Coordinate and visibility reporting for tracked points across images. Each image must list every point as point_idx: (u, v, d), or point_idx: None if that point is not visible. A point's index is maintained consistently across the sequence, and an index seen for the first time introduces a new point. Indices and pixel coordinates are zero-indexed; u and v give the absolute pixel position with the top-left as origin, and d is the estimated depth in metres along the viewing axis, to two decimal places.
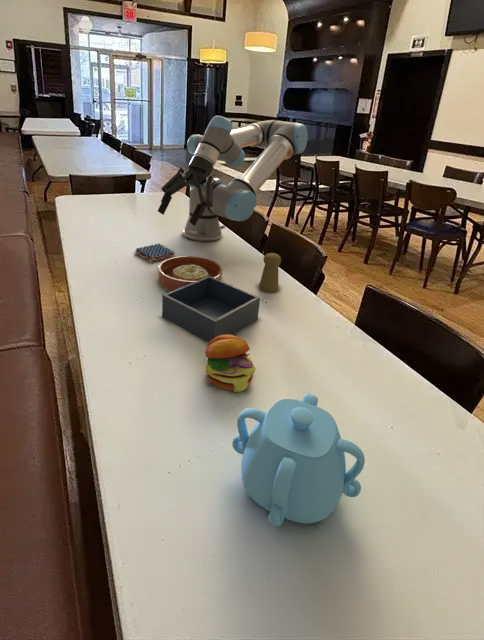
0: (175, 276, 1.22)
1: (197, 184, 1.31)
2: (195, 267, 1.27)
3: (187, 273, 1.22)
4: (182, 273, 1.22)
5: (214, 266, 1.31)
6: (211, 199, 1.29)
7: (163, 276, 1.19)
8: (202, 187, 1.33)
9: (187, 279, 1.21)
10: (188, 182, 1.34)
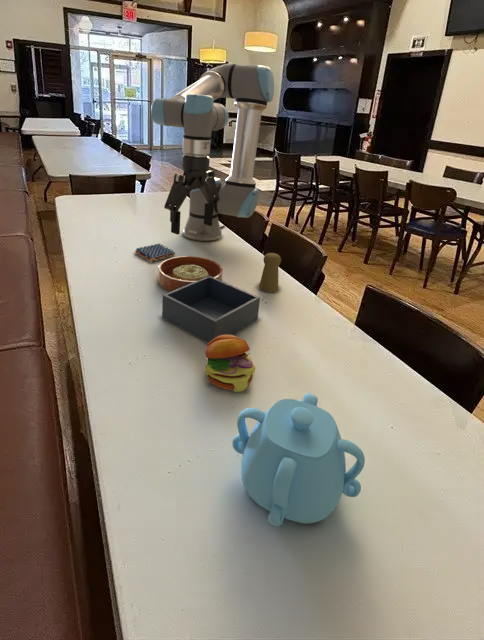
0: (175, 276, 1.22)
1: (206, 186, 1.17)
2: (195, 267, 1.27)
3: (187, 273, 1.22)
4: (182, 273, 1.22)
5: (214, 266, 1.31)
6: None
7: (163, 276, 1.19)
8: None
9: (187, 279, 1.21)
10: (194, 188, 1.15)
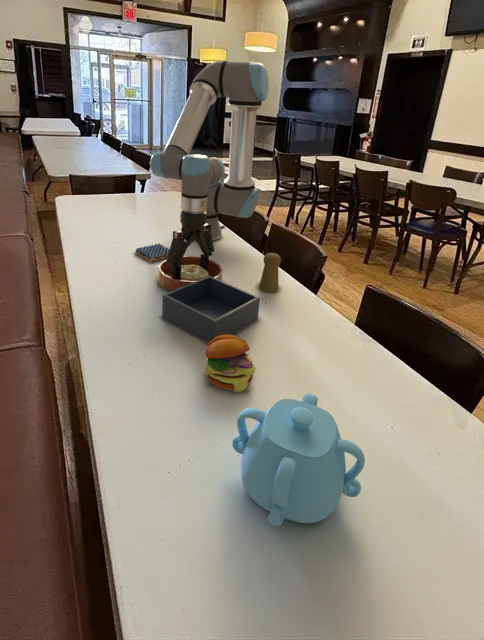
0: None
1: (203, 239, 1.23)
2: (195, 267, 1.27)
3: (187, 273, 1.22)
4: (182, 273, 1.22)
5: (214, 266, 1.31)
6: None
7: (163, 276, 1.19)
8: None
9: (187, 279, 1.21)
10: (192, 241, 1.20)
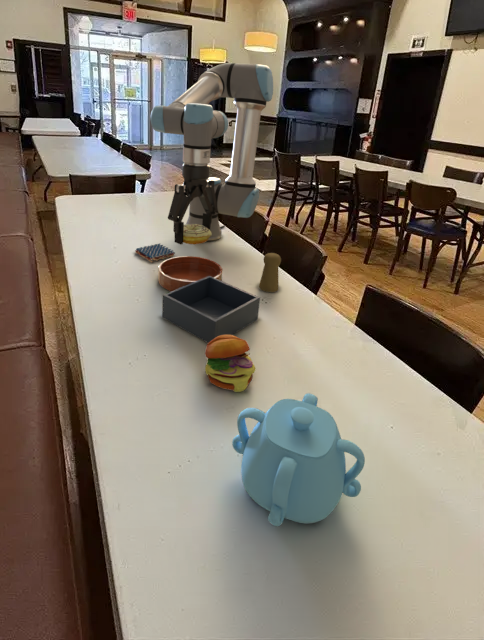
0: None
1: (205, 195, 1.18)
2: (198, 226, 1.22)
3: (190, 231, 1.17)
4: (185, 230, 1.17)
5: (214, 266, 1.31)
6: None
7: (163, 276, 1.19)
8: None
9: (190, 236, 1.16)
10: (195, 196, 1.15)
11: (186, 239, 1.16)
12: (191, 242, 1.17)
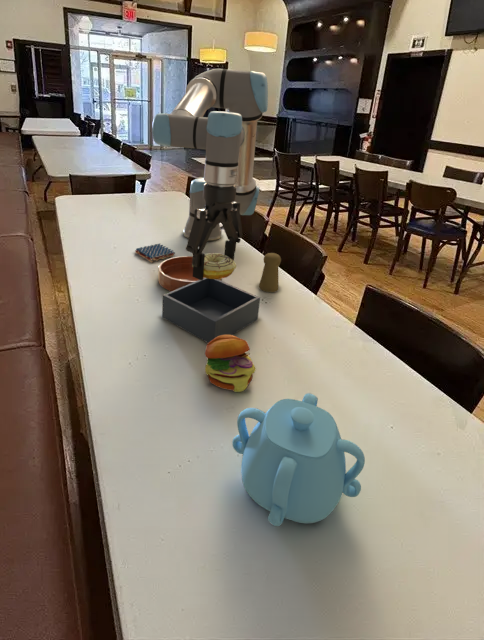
0: None
1: (230, 221, 0.99)
2: (220, 256, 1.03)
3: (211, 263, 0.98)
4: (205, 262, 0.98)
5: None
6: None
7: (163, 276, 1.19)
8: None
9: (211, 270, 0.96)
10: (218, 222, 0.96)
11: (207, 273, 0.97)
12: (213, 277, 0.97)
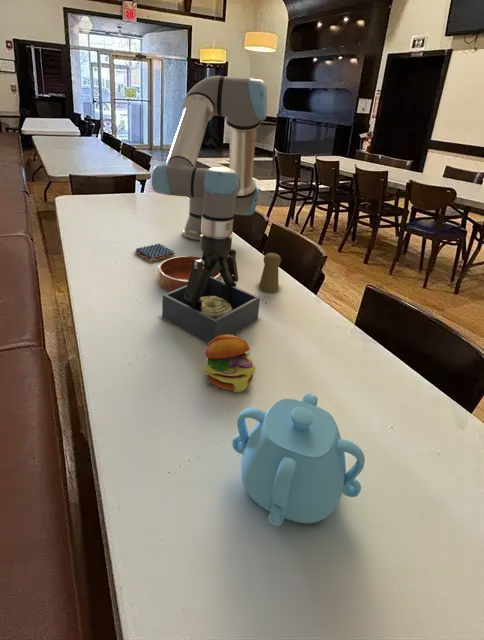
0: None
1: (226, 268, 1.03)
2: (216, 300, 1.07)
3: (208, 308, 1.02)
4: (202, 308, 1.02)
5: None
6: None
7: (163, 276, 1.19)
8: None
9: None
10: (214, 270, 1.00)
11: None
12: None
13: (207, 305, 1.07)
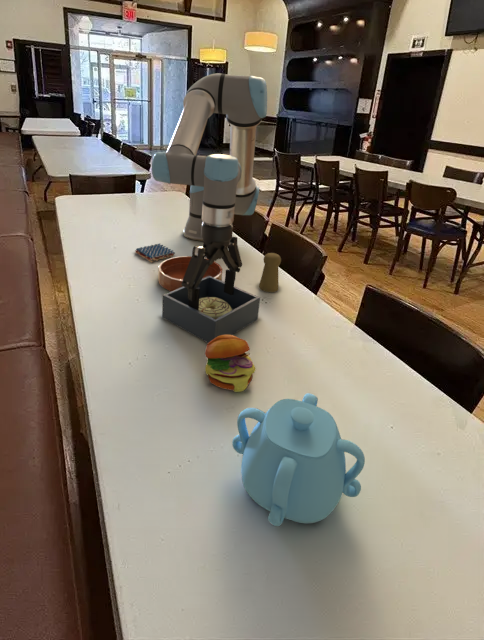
0: None
1: (228, 255, 1.02)
2: (216, 301, 1.07)
3: (208, 310, 1.02)
4: (202, 309, 1.03)
5: (214, 266, 1.31)
6: None
7: (163, 276, 1.19)
8: None
9: None
10: (215, 259, 0.99)
11: None
12: None
13: (207, 306, 1.07)
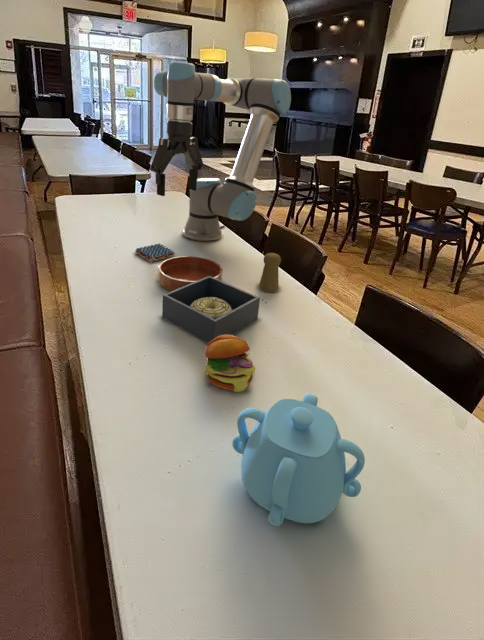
0: None
1: (190, 152, 1.25)
2: (216, 301, 1.07)
3: (208, 310, 1.02)
4: (202, 309, 1.03)
5: (214, 266, 1.31)
6: None
7: (163, 276, 1.19)
8: None
9: None
10: (178, 152, 1.22)
11: None
12: None
13: (207, 306, 1.07)
